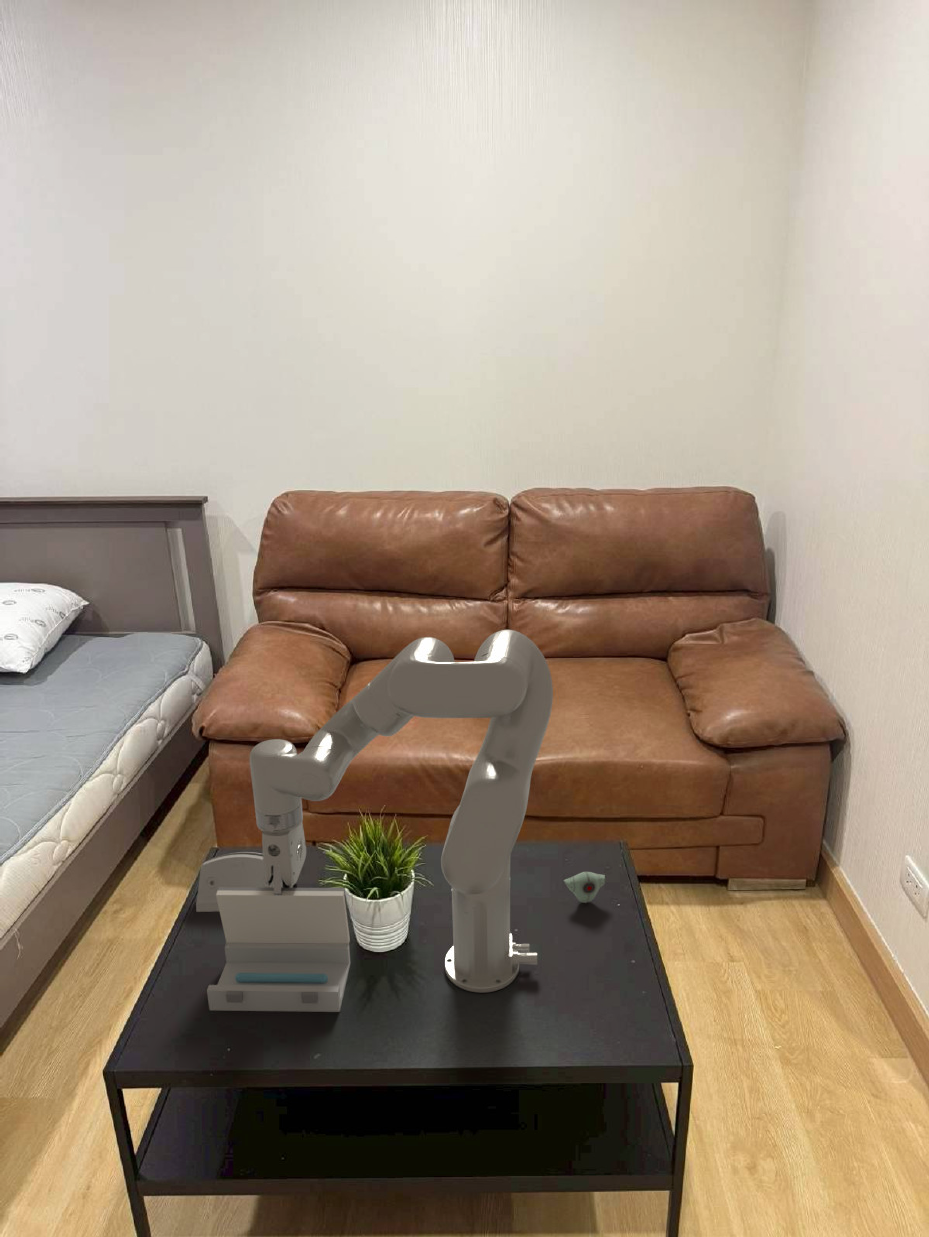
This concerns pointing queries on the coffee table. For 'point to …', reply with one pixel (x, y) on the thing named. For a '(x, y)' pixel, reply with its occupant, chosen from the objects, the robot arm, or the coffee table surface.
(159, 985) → the coffee table surface
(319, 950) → the grey hinged box
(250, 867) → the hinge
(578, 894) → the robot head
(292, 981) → the teal rod
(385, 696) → the robot arm
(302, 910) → the cover
